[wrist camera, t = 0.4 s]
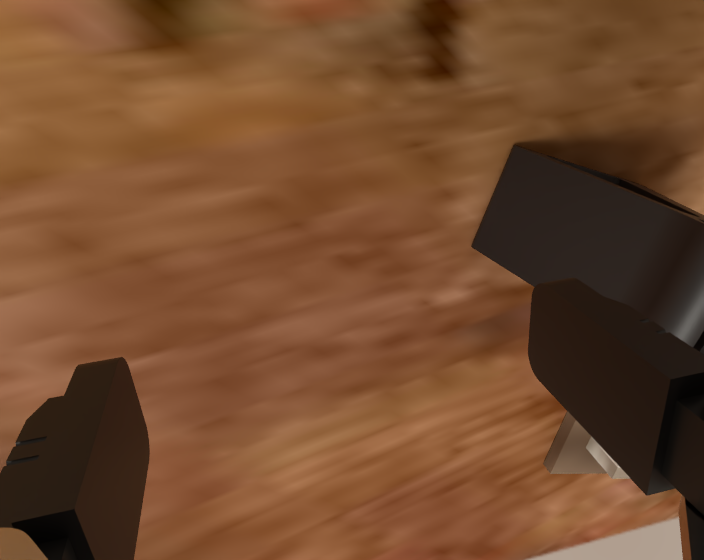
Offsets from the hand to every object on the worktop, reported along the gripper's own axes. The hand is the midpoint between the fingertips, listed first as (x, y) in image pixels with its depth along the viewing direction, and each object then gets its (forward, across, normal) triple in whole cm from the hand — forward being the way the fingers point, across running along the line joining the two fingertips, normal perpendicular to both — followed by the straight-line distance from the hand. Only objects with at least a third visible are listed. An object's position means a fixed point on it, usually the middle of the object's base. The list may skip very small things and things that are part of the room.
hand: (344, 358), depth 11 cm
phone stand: (+18, -16, +5) cm, 25 cm away
